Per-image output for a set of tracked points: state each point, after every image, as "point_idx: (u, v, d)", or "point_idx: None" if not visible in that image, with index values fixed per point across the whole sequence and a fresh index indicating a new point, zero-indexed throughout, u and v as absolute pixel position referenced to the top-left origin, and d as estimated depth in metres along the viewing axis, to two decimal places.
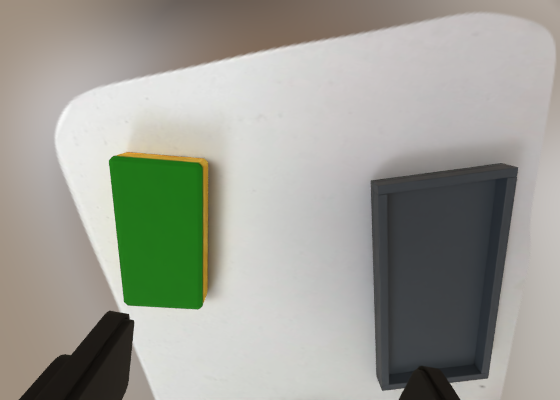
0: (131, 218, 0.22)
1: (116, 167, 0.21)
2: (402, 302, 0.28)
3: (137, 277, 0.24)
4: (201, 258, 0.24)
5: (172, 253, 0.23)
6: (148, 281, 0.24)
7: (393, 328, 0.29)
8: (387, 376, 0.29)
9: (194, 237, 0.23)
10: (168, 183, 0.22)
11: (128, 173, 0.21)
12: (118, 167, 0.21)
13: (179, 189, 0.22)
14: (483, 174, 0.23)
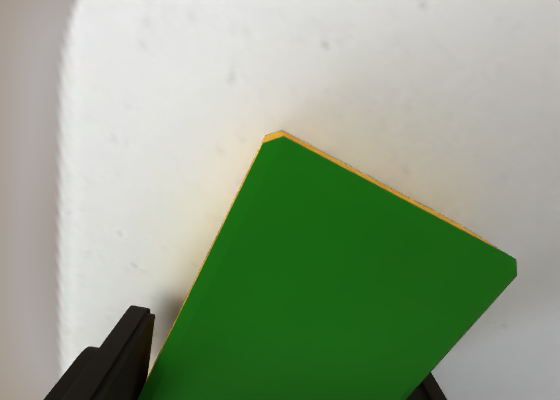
0: (230, 332, 0.07)
1: (276, 178, 0.06)
2: None
3: None
4: None
5: None
6: None
7: None
8: None
9: None
10: (401, 281, 0.07)
11: (304, 211, 0.06)
12: (283, 181, 0.06)
13: (418, 308, 0.07)
14: None
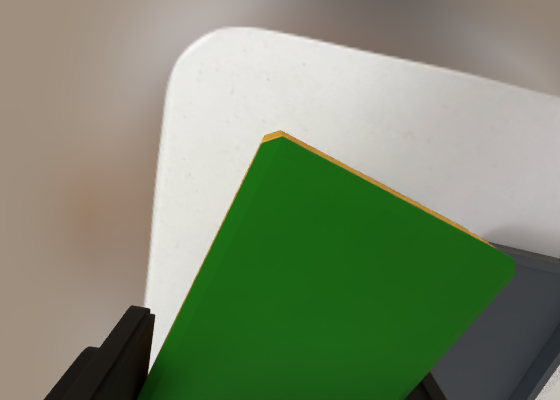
0: (229, 331, 0.07)
1: (275, 178, 0.06)
2: (445, 368, 0.26)
3: None
4: None
5: None
6: None
7: None
8: None
9: None
10: (399, 281, 0.07)
11: (302, 211, 0.06)
12: (281, 181, 0.06)
13: (417, 308, 0.07)
14: None
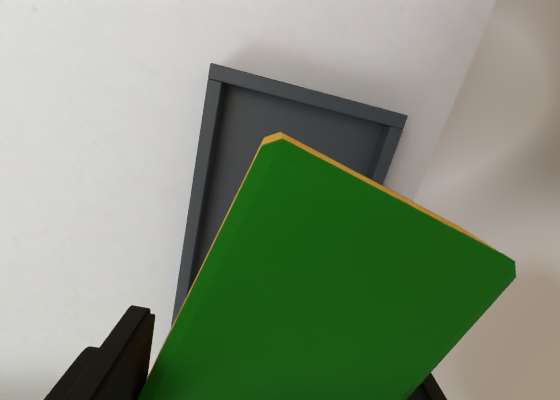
0: (229, 333, 0.07)
1: (275, 180, 0.06)
2: None
3: None
4: None
5: None
6: None
7: None
8: None
9: None
10: (399, 284, 0.07)
11: (302, 214, 0.06)
12: (281, 183, 0.06)
13: (417, 310, 0.07)
14: (360, 107, 0.16)
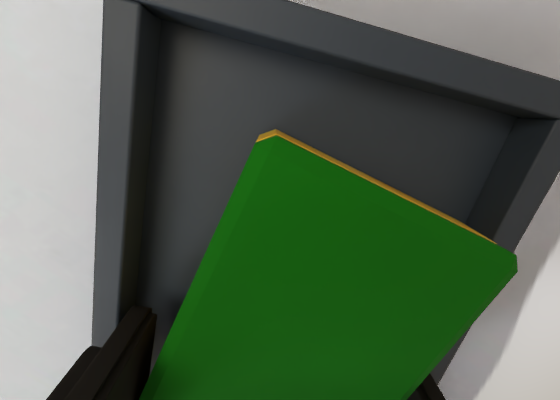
0: (228, 334, 0.07)
1: (269, 178, 0.06)
2: None
3: None
4: None
5: None
6: None
7: None
8: None
9: None
10: (399, 280, 0.07)
11: (298, 211, 0.06)
12: (276, 180, 0.06)
13: (418, 306, 0.07)
14: (493, 72, 0.06)
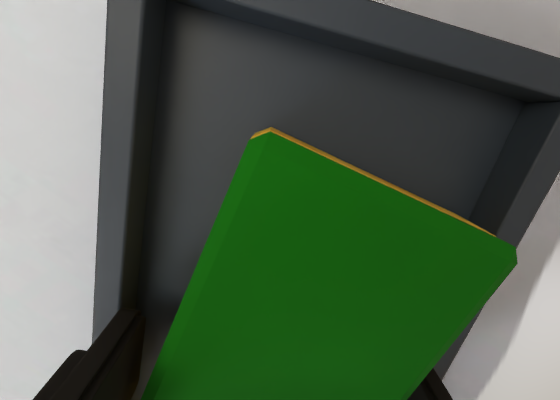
0: (227, 332, 0.07)
1: (264, 174, 0.06)
2: None
3: None
4: None
5: None
6: None
7: None
8: None
9: None
10: (397, 275, 0.07)
11: (294, 207, 0.06)
12: (271, 176, 0.06)
13: (417, 301, 0.07)
14: (502, 51, 0.06)
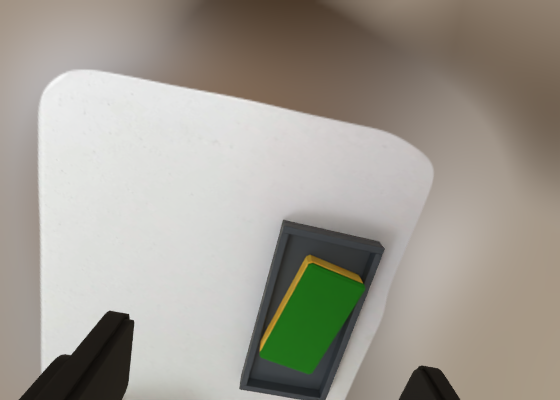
0: (301, 304, 0.31)
1: (311, 271, 0.29)
2: None
3: (280, 341, 0.32)
4: (331, 342, 0.32)
5: (314, 334, 0.32)
6: (286, 346, 0.32)
7: None
8: (247, 378, 0.35)
9: (335, 328, 0.32)
10: (339, 291, 0.30)
11: (317, 277, 0.30)
12: (312, 272, 0.29)
13: (344, 297, 0.30)
14: (360, 244, 0.30)
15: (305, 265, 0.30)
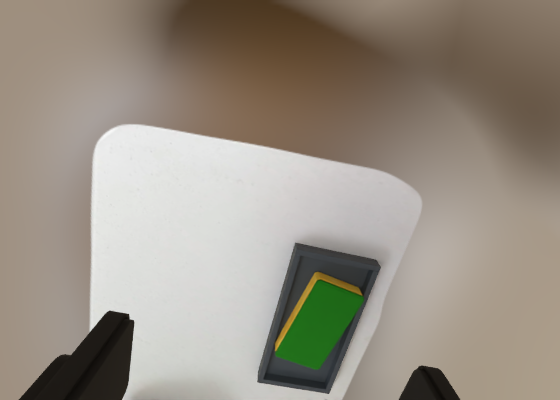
0: (310, 313, 0.37)
1: (319, 286, 0.35)
2: None
3: (292, 343, 0.38)
4: (335, 343, 0.39)
5: (321, 337, 0.38)
6: (298, 347, 0.38)
7: None
8: (264, 373, 0.41)
9: (339, 332, 0.38)
10: (342, 302, 0.36)
11: (324, 291, 0.36)
12: (320, 287, 0.35)
13: (346, 307, 0.36)
14: (360, 264, 0.36)
15: (314, 281, 0.36)
